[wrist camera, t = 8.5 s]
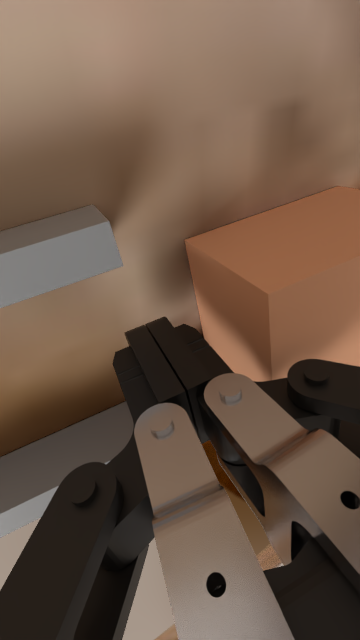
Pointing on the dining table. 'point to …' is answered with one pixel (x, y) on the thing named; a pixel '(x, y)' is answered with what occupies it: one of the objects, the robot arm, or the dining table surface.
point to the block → (282, 285)
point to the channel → (31, 280)
